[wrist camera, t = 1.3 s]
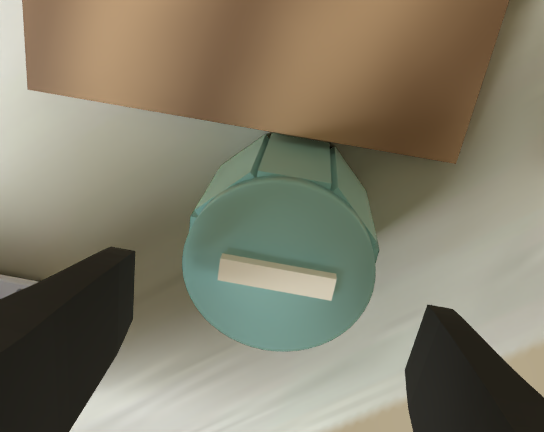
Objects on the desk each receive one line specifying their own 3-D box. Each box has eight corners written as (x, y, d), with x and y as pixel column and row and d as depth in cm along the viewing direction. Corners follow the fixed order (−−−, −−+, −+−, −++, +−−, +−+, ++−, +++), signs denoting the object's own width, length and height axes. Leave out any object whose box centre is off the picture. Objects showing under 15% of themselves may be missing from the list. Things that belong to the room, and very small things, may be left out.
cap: (208, 259, 19) (173, 340, 15) (223, 124, 17) (186, 170, 12) (345, 283, 19) (352, 373, 14) (378, 151, 17) (399, 207, 12)
